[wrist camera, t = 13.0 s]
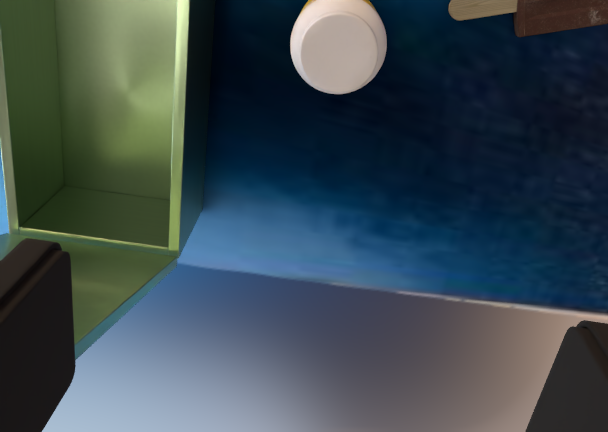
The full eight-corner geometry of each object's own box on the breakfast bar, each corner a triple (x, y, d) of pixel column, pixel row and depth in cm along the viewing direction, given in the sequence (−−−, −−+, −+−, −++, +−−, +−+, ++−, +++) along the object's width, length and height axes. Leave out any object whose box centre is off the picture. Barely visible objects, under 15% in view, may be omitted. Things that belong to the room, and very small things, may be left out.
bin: (45, -57, 42) (-21, -55, 34) (217, -32, 43) (190, -25, 35) (59, 189, 51) (8, 235, 43) (202, 208, 51) (178, 258, 43)
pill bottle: (396, 22, 44) (414, 46, 34) (343, 86, 46) (346, 127, 36) (331, -34, 42) (331, -26, 32) (280, 35, 44) (265, 63, 34)
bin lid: (-266, 310, 22) (-269, 438, 23) (63, 354, 22) (51, 480, 23) (6, 232, 42) (0, 301, 43) (177, 256, 43) (170, 324, 43)
